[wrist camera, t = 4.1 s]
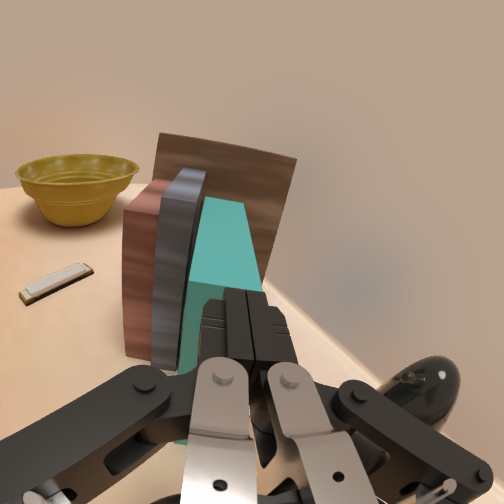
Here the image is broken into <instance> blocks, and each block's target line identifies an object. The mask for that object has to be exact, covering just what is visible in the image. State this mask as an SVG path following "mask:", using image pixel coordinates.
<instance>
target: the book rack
mask: <svg viewBox="0 0 504 504" xmlns="http://www.w3.org/2000/svg"><path fill="white" fill-rule="evenodd" d="M296 161H297V159H295V158H292V157H288V156H284V155H280V154H276V153H271V152H267V151H263V150H258V149H253V148H248V147H244V146H239V145H234V144H229V143H224V142H219V141H213V140H207V139H201V138H195V137H189V136H182V135H176V134H168V133H160V134H159V139H158V145H157V151H156V157H155V164H154V171H153V178H152V182H151V183H150V184H149V185H148V186H147V187H146V188H145V189H144V190H143V191H142V192H141V193H140V194H139V195H138V196H137V197H136V198H135V199H134V200H133V201H132V202H131V203H130V204H129V205H128V206H127V207H126V208H125V209H124V217H123V237H122V305H123V325H124V339H125V351H126V356H128V357H133V358H138V359H143V360H148V361H151V366H153V367H155V368H159V369H165V370H171V371H176V363H177V356H178V348H179V341H180V334H181V328H182V321H183V315H184V308H185V304H186V296H187V288H188V281H189V275H190V270H191V264H192V259H193V254H194V249H195V244H196V239H197V234H198V229H199V224H200V219H201V215H202V210H203V205H204V201H205V196H206V197H212V198H217V199H223V200H228V201H234V202H239V203H244V208H245V212H246V217H247V221H248V226H249V230H250V235H251V240H252V244H253V249H254V253H255V258H256V262H257V267H258V272H259V276H260V281H261V285H262V282H263V279H264V276H265V272H266V269H267V265H268V261H269V258H270V255H271V251H272V248H273V244H274V241H275V237H276V234H277V230H278V227H279V223H280V220H281V216H282V212H283V209H284V205H285V201H286V198H287V194H288V190H289V187H290V183H291V180H292V176H293V172H294V169H295V165H296Z"/></svg>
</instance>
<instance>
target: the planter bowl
mask: <svg viewBox="0 0 504 504" xmlns="http://www.w3.org/2000/svg"><path fill="white" fill-rule="evenodd" d="M138 171H139V166H138V165H137V164H136V163H134V162H132V161H129V160H126V159H123V158H118V157H113V156H106V155H92V154H77V155H76V154H75V155H61V156H53V157H47V158H43V159H38V160H35V161H32V162H29V163H27V164H25V165H23V166H21V167H20V168H18V169H17V170H16V172H15V175H16V177H17V178H19V179H20V182H21V184H22V187H23V189H24V191H25V193H26V194H27V195H29V196H30V197H32V198H33V199H34V200H35V202H36V204H37V206H38V207H39V209H40V211H41V212H42V214H43V215H44V216H45V218H46V219H47V220H49V221H50V222H52V223H54V224H56V225H59V226H63V227H79V226H85V225H89V224H92V223H94V222H96V221H98V220H99V219H100V218H102V217H103V216H104V215H105V214H106V213H107V212H108V210H109V209H110V207H111V206H112V204H113V202H114V200H115V198H116V196H117V195H118V194H119V193H120V192H122V191H124V190H125V189H126V188H127V187H128V185H129V183H130V181H131V179H132V177H133V175H134V174H136V173H137V172H138Z"/></svg>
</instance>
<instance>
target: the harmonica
mask: <svg viewBox="0 0 504 504" xmlns="http://www.w3.org/2000/svg"><path fill="white" fill-rule="evenodd" d="M92 274H94V272H93V269H92V268H90V267H89V266H88V265H86V264H85V263H84V264H80V263H76V264H73V265H71V266H68V267H66V268H64V269H61V270H59V271H57V272H55V273H52V274H50V275H48V276H45V277H43V278H41V279H39V280H37V281H34V282H32V283H30V284H28V285H27V286H26V287H25V288H26V289H25V290H23V291H21V292H19V297H20V299H21V300H22V301H23V303H24V304H25V305H26V306H28V305H30V304H32V303H34V302H36V301H38V300H40V299H42V298H44V297H47V296H49V295H51V294H53V293H55V292H57V291H59V290H61V289H63V288H65V287H67V286H69V285H71V284H73V283H75V282H77V281H80V280H82V279H84V278H86V277H88V276H90V275H92Z"/></svg>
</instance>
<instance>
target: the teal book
mask: <svg viewBox="0 0 504 504" xmlns="http://www.w3.org/2000/svg"><path fill="white" fill-rule="evenodd" d="M225 287H229V288H236V289H243V290H251V291H259V292H263V290H262V285H261V281H260V276H259V272H258V267H257V262H256V258H255V253H254V249H253V244H252V240H251V235H250V230H249V226H248V221H247V217H246V212H245V208H244V203H239V202H234V201H228V200H223V199H217V198H212V197H206V196H205V201H204V205H203V210H202V215H201V219H200V224H199V229H198V234H197V239H196V244H195V249H194V254H193V259H192V264H191V270H190V275H189V281H188V288H187V296H186V304H185V312H184V321H183V330H182V339H181V349H180V359H179V370H178V375H182V374H185V373H188V372H190V371H191V370H193V369H194V368H195V367H196V366H197V352H198V338H199V331H200V324H201V318H202V311H203V306H204V305H205V303H206V302H207V301H208V300H209V299H210V298H211V299H218V300H222V297H223V292H224V288H225ZM174 443H176V444H184V445H187V444H188V439H185V440H179V441H174Z"/></svg>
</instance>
